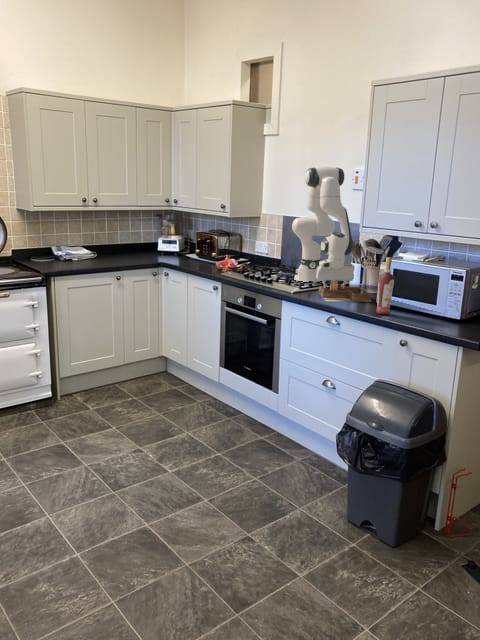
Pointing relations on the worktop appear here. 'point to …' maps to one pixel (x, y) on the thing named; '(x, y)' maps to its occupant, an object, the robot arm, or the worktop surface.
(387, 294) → the liquor
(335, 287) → the peg
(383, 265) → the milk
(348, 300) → the board
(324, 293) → the walls
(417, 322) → the worktop surface
